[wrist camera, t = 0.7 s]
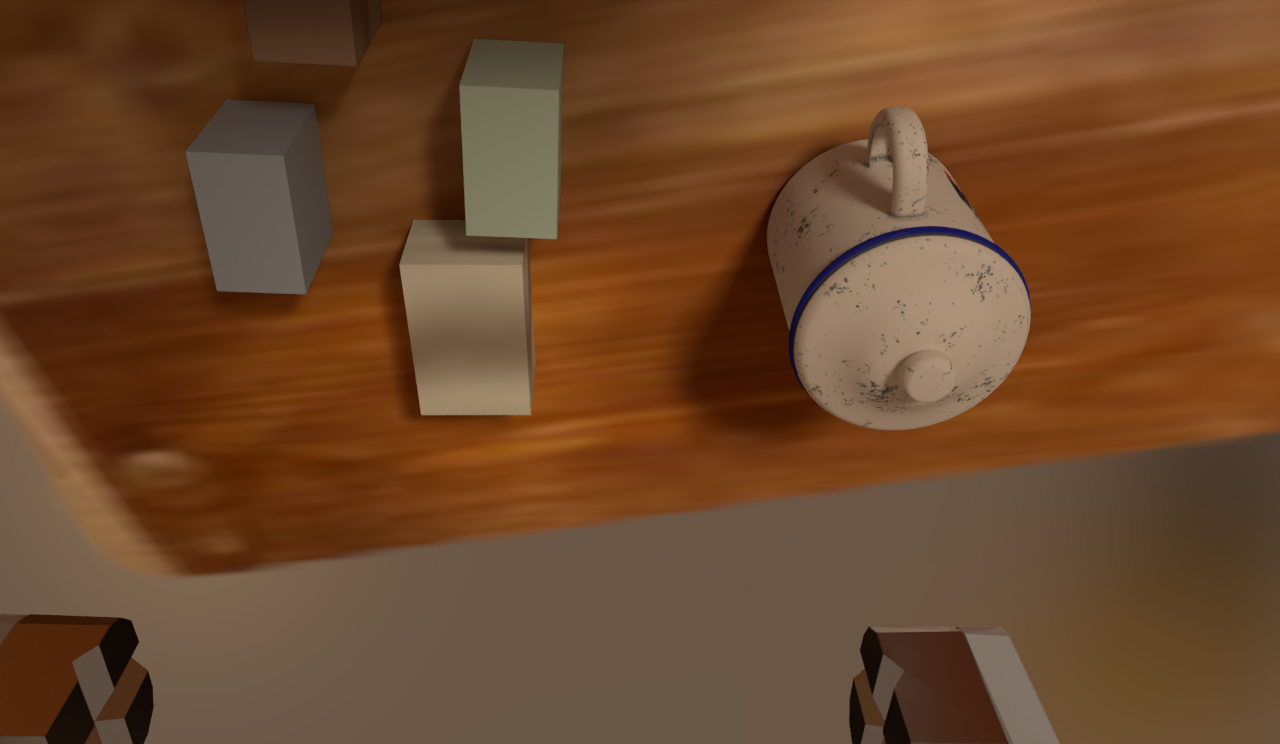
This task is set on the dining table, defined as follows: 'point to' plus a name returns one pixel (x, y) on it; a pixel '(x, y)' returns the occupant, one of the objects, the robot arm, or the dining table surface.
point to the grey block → (262, 196)
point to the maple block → (469, 320)
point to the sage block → (512, 138)
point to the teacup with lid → (893, 283)
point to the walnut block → (311, 30)
